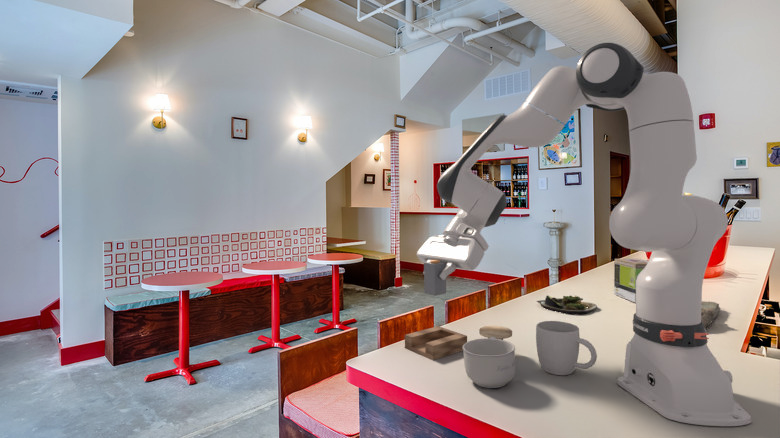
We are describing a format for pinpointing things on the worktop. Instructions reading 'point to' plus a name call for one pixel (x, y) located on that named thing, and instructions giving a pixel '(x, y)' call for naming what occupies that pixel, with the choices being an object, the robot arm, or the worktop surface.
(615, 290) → the tea box
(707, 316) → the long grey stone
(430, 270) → the grey knobbed block
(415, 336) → the notch board
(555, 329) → the mug
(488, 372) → the teacup
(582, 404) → the worktop surface
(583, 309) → the salad plate
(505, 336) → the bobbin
